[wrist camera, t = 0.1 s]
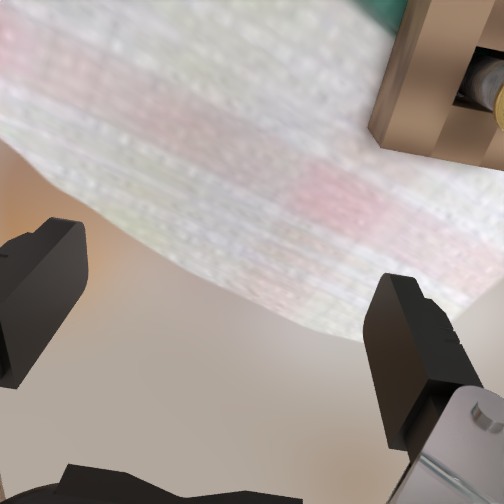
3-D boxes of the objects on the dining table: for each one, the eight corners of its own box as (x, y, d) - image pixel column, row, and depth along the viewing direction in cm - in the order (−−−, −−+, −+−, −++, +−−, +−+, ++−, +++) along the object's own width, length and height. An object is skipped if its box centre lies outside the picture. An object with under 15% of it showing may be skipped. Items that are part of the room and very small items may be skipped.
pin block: (417, -31, 31) (444, -36, 26) (570, 0, 31) (625, 1, 26) (367, 127, 37) (380, 148, 32) (494, 151, 37) (527, 175, 32)
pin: (445, 35, 33) (522, 53, 22) (497, 45, 33) (599, 68, 22) (424, 92, 35) (485, 132, 25) (473, 101, 35) (555, 145, 25)
